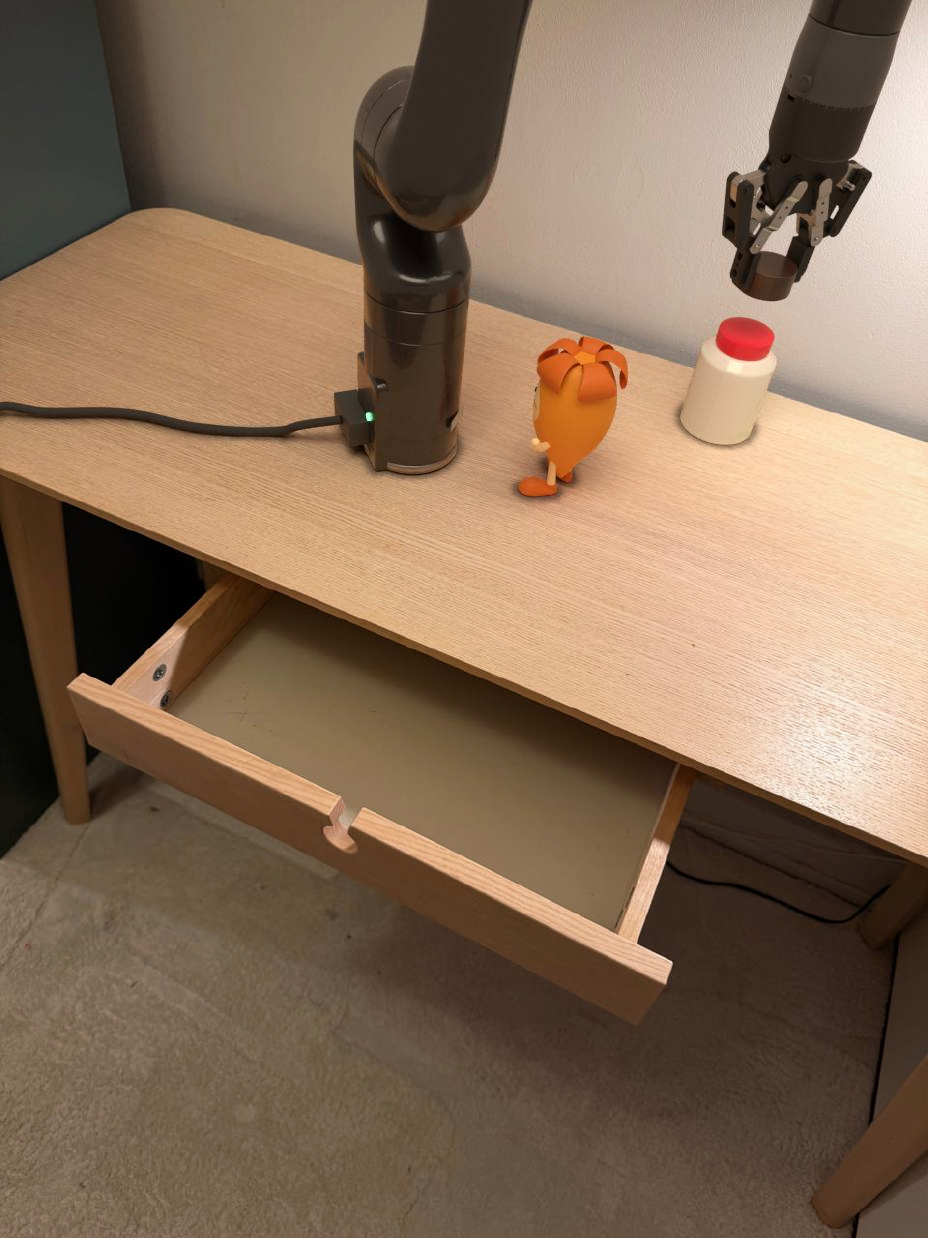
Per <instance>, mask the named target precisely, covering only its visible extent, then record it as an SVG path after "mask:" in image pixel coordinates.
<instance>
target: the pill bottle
mask: <svg viewBox="0 0 928 1238" xmlns="http://www.w3.org/2000/svg"><path fill="white" fill-rule="evenodd" d="M775 337H776V336H775V332H774V331H773V329H772V328H770V327H769V326H768V325H767V324H765V323H763V322H761V321H759V320H757V319H753V318H750V317H745V316H734V317H729V318H725V319H723V320H722V321H721V323H720V324H719V326H718V330H717V333H715V334H713V335H711V336H709V337H707V338H706V339H705V340H704V341H703V343H702V344H701V346H700V349H699V352H698V355H697V358H696V362H695V365H694V368H693V371H692V375H691V377H690V381H689V384H688V387H687V391H686V394H685V397H684V400H683V403H682V407H681V410H680V415H679V419H680V423H681V425H682V426H683V428H684V429H685V430H686V431H687V432H688V433H689V434H691V435H692V436H694V437H695V438H697V439H699V440H701V441H703V442H706V443H709V444H713V445H721V446H729V445H730V446H731V445H736V444H740V443H742V442H744V441H746V440H747V439H748V438H749V437H750V435H751V434H752V431H753V428H754V426H755V423H756V422H757V419H758V415H759V414H760V411H761V408H762V405H763V403H764V401H765V397H766V395H767V393H768V391H769V387H770V385H771V382H772V380H773V378H774V374H775V372H776V369H777V367H778V358H777V356H776V353H775V352H774V350H773V348H772V347H773V344H774V343H775Z"/></svg>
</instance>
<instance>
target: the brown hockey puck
mask: <svg viewBox="0 0 928 1238" xmlns="http://www.w3.org/2000/svg"><path fill="white" fill-rule="evenodd" d="M760 253H761V257H760V260H759V263H758V266H757V269H756V272H755V275H754V278H753V281H752V284H751V287H750V289H749V290H743V291H741V292H742V293H743V294H744V295H746V296H748V297H750V298H752V299H755V300H759V301H762V302H780V301H783V300H785V299H786V298H788V297H789V295H790V294H791V291H792V288H793V285H794V284H795V283H794V280H795V277H796V274H797V272H798V267H797V265H796V264H795V262H793V261H792V260H791V259H789V258H788V257H786V255H784V254H781V253H778V252H774V251H769V250H768V251H767V250H760Z"/></svg>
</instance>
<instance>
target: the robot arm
mask: <svg viewBox="0 0 928 1238" xmlns="http://www.w3.org/2000/svg"><path fill="white" fill-rule="evenodd" d="M534 1H535V0H426V3H425V11H424V19H423V25H422V30H421V34H420V40H419V43H418V49H417V51H416V52H417V53H416V56H415V59H414V65H411V64H410V65H403V66H398V67H395V68H392V69H390V70H388V71H386V72H385V73H383V74H382V75H380V76H379V77H378V78H377V79H376V80H375V81H374V82H373V83H372V84H371V85H370V87H369V88H368V89H367V90H366V93H365V94H364V96H363V98H362V99H361V102H360V104H359V107H358V110H357V113H356V117H355V120H354V121H355V122H354V129H353V141H352V163H353V164H352V168H353V169H352V170H353V171H352V172H353V193H354V196H353V197H354V217H355V234H356V240H357V245H358V250H359V254H360V258H361V262H362V263H361V264H362V273H363V274H362V279H363V280H362V281H363V282H362V283H363V286H362V287H363V351H359V352H358V353H357V355H356V364H357V365H356V369H357V370H356V371H357V389H355V388H354V389H347V390H342V391H335V392H333V406H334V407H333V409H334V415H331V416H324V417H322V416H321V417H315V418H308V419H303V420H297V421H294V422H291V423H288V424H286V425H285V424H284V425H280V426H262V427H261V426H259V427H257V426H256V427H255V426H250V427H249V426H236V425H235V426H233V425H223V424H222V425H221V424H213V423H204V422H195V421H190V420H185V419H181V418H176V417H172V416H167V415H164V414H159V413H156V412H152V411H147V410H140V409H135V408H127V407H125V408H124V407H115V406H114V407H112V406H111V407H110V406H74V407H72V406H71V407H69V406H68V407H60V406H59V407H58V406H57V407H55V406H54V407H53V406H52V407H51V406H49V407H48V406H37V405H30V404H26V403H20V402H14V401H0V412H14V413H20V414H24V415H29V416H37V417H52V418H54V417H55V418H58V417H59V418H60V417H63V418H64V417H65V418H66V417H67V418H69V417H72V418H73V417H112V418H113V417H115V418H125V419H126V418H127V419H134V420H135V419H136V420H141V421H146V422H150V423H155V424H159V425H164V426H167V427H171V428H175V429H180V430H185V431H190V432H196V433H203V434H212V435H222V436H235V437H277V436H278V437H279V436H286V435H290V434H293V433H295V432H298V431H303V430H309V429H315V428H323V427H331V426H339V427H340V429H341V432H342V434H343V436H344V438H345V440H346V443H347V445H348V447H350V448H353V447H356V446H363V449H364V452H365V454H366V455H367V456H368V459H369V461H370V462H371V465H372V467H373V468H374V471H378V472H379V471H384V470H388V471H391V472H395V473H400V474H407V475H419V474H426V473H430V472H435V471H437V470H439V469H442V468H443V467H445V466H446V465H448V464H449V463H450V462H452V460H453V459H454V458H455V456H456V454H457V451H458V442H459V441H458V440H459V439H458V437H459V421H460V420H461V418H462V417H463V415H464V408H465V407H464V405H462V407H461V408H460V406H461V395H462V386H463V385H462V384H463V374H464V373H463V372H464V360H465V348H466V340H467V339H466V338H467V337H466V336H467V329H468V328H467V326H468V317H469V304H470V295H471V294H470V292H471V286H472V274H473V273H472V272H473V266H472V265H473V264H472V263H473V262H472V257H471V253H470V250H469V246H468V242H467V241H466V240H467V239H466V236H465V230H464V225H463V224H464V223H465V222H466V221H467V220H469V219H470V218H471V217H473V216H472V215H474V214H475V213H476V211H477V210H478V209H479V208H480V207H481V205H482V204H483V202H484V201H485V198H486V197H487V195H488V194H489V192H490V189H491V187H492V184H493V182H494V179H495V176H496V173H497V169H498V166H499V161H500V156H501V152H502V147H503V141H504V136H505V131H506V126H507V121H508V115H509V110H510V106H511V99H512V94H513V90H514V84H515V79H516V74H517V69H518V63H519V59H520V54H521V49H522V47H523V46H522V45H523V41H524V37H525V33H526V29H527V27H528V26H527V25H528V22H529V18H530V15H531V11H532V8H533V6H534V5H533V4H534ZM912 2H913V0H812V1H811V4H810V7H809V12H808V14H807V15H806V16H807V17H806V20H805V22H804V24H803V27H802V29H801V31H800V33H799V35H798V37H797V40H796V43H795V45H794V49H793V50H792V55H791V58H790V61H789V64H788V68H787V71H786V73H785V77H784V80H783V84H782V87H781V90H780V93H779V97H778V100H777V103H776V107H775V110H774V112H773V116H772V119H771V123H770V126H769V129H768V150H767V152H766V155H765V156H764V157H763V159H762V161H761V162H760V164H759V165H758V167H757V169H756V170H753V171H749V172H748V173H745V174H741V173H739V172H738V171H736V170H735V171H732V172H730V173H729V174H728V176H727V178H726V181H725V191H724V192H725V194H724V202H723V203H724V204H723V214H722V226H721V236H722V237H723V238H724V239H726V240H728V241H729V242H730V243H731V244H732V245H733V246H734V247H735V248H736V250H735V254H734V257H733V261H732V263H731V267H730V270H729V279H730V281H731V283H732V284H733V285H734V286H735V287H736V288H737V289H738V290H739V291H740V292H742V291H743V290H749V289H750V287H751V284H752V281H753V278H754V275H755V272H756V269H757V266H758V263H759V260H760V257H761V253H760V251H762V249H763V248H764V247H765V245H766V243H767V241H768V240H769V238H770V237H771V235H772V233H773V232H778V231H779V229H780V228H781V227H782V225H783V224H784V222H785V220H786V219H787V217H789V216H792V215H794V214H796V221H795V233H796V234H797V235H793V236H792V237H791V240H790V243H789V246H788V248H787V251H786V254H785V256H786V257H788V258H789V259H791V260H792V261H793V262H795V264H796V265H797V267H798V272H797V274H796V277H795V280H794V283H793V284H797V283H799V282H800V281H801V279H802V277H804V275H805V274H806V272H807V270H808V267H809V264H810V262H811V260H812V257H813V254H814V251H815V249H816V247H817V246H818V245H820V243H822V241H823V239H825V238H828V237H831V238H835V237H837V236H838V235H840V234H841V231H842V230H843V229H844V226H845V224H846V223H847V221H848V220H849V218H850V215H852V213H853V210H854V209H855V207H856V205H857V203H858V202H859V200H860V198H861V196H862V195H863V194H864V192H865V189H866V188H867V187H868V185H869V183H870V182H871V180H872V179H873V178H872V177H873V172H872V171H870V170H869V169H868V168H866V167H865V166H864V165H862V164H860V163H859V162H857V160H855V159H852V158H854V157H855V156H856V155H857V154H858V152H859V150H860V148H861V145H862V142H863V140H864V137H865V135H866V132H867V129H868V126H869V124H870V121H871V119H872V116H873V114H874V111H875V109H876V106H877V103H878V100H879V98H880V95H881V93H882V90H883V88H884V85H885V83H886V79H887V77H888V75H889V73H890V70H891V66H892V64H893V60H894V57H895V53H896V48H897V44H898V40H899V38H900V34H901V32H902V31H901V30H902V28H903V25H904V23H905V20H906V18H907V15H908V12H909V9H910V7H911V4H912ZM837 207H838V209H837V211H836V213H835V215H834V216H833V213H834V212H835V210H836V208H837ZM766 208H768V209H770V211H772V213H771V214H769V213H768V212H767V211H766ZM832 216H833V218H832ZM758 226H759V228H758ZM757 228H758V229H757ZM756 229H757V231H756ZM755 231H756V233H754V232H755Z"/></svg>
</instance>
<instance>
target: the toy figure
mask: <svg viewBox="0 0 928 1238" xmlns="http://www.w3.org/2000/svg"><path fill="white" fill-rule="evenodd" d="M560 350H562V351H560ZM536 363H537V366H536V370H535V371H536V373H537V375H538V377H539V380H538V383H537V386H535V388H534V398H533V405H532V423H533V428H534V432H535V435H536V437H533V438H532V439H531V440H530V446H531V448H532V450H534V451H536V452H538V453H542V452H544V453H545V455H546V457H547V460H546V466H547V468H548V470H547V476H546V480H544V479H543V478H540V477H536V476H529V477H525V478H523V479H522V480H521V481H520V482H519V484H518V490H519V492H520V494H522V495H524V496H527V497H543V496H552V495H555V494H556V493H557V492H558V486H557V481H556V477H557V478H558V479H560V480H561V481H563V482H566V483H569V482H571V481H572V480H573V469H574V468H575V467H576V466H577V465H578V464H579V463H580V462H581V461H583V460H584V459H585V458H586V457H587V456H588V455H590V454H591V453H592V452H593V451H594V450H595V449H596V448H598V446H600V444H601V443H602V441H603V440H604V438H605V437H606V435H607V434H608V432H609V430H610V428H611V426H612V424H613V421H614V418H615V415H616V410H617V404H618V386H617V385H618V384H617V381H616V377H615V373H614V370H613V367H612V364H614V365H615V366H616V367H618V369H620V371H619V376H618V380H619V381H618V382H619V387H620V389H621V390H625V389H626V387H627V386H628V383H629V369H628V362H627V358H626V356H625V355H624V354H623V353H621V352H620V351H618V350H615V348H614V346H613V345H612V344H611V343H608V342H607V341H604V340H601V339H598V338H594V337H591V336H586V335H582V336H581V337H580V338H579V340H578V342H576V340H574V339H572V338H568V337H563V338H560V339H558V340H556V341H554V342H553V343H552V344H550V345H549V346H548V347H546V348H545V349H544V350H543V351H542V352H541V353H540V354H539V355H538V357H537V361H536ZM611 363H612V364H611Z"/></svg>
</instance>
